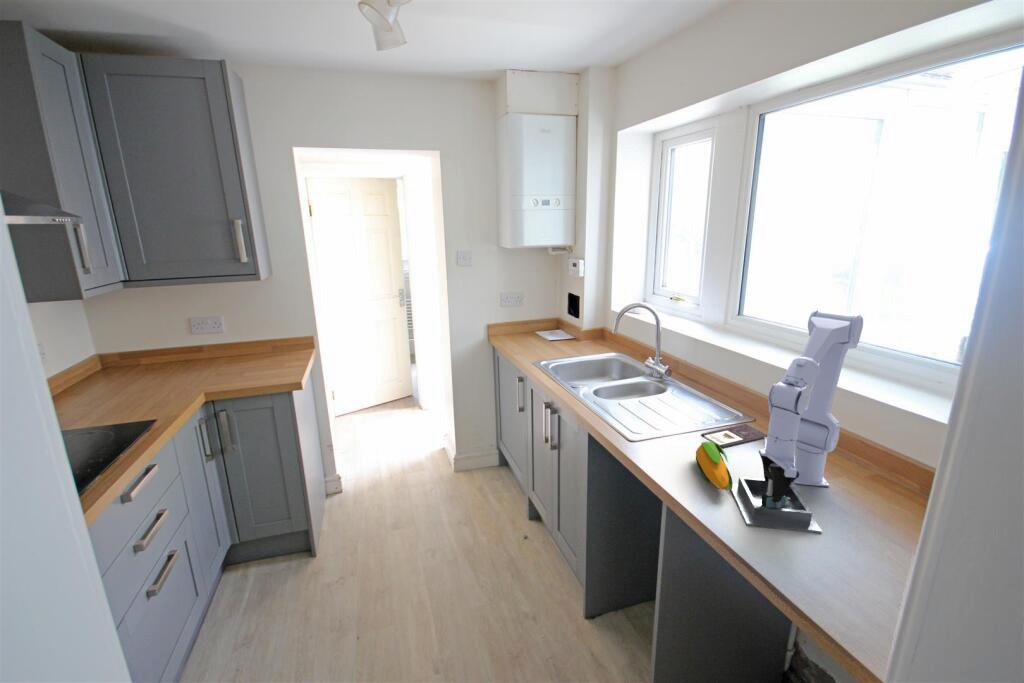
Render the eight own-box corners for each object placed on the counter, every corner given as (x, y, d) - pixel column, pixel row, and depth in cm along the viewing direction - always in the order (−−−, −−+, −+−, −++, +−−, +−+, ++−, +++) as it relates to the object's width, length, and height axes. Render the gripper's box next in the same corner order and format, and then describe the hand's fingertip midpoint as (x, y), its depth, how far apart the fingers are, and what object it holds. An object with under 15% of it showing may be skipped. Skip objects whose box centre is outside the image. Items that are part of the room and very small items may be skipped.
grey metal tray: (728, 484, 116) (730, 472, 115) (792, 490, 113) (794, 477, 113) (746, 525, 101) (748, 511, 100) (821, 533, 98) (824, 519, 97)
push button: (780, 497, 110) (785, 459, 108) (797, 510, 105) (803, 471, 102) (755, 500, 109) (760, 462, 107) (771, 513, 104) (776, 474, 101)
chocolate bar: (769, 435, 140) (723, 446, 134) (768, 438, 140) (723, 449, 134) (745, 423, 148) (701, 433, 142) (745, 426, 148) (701, 436, 142)
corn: (719, 434, 127) (743, 473, 108) (719, 458, 129) (742, 501, 110) (692, 434, 128) (710, 473, 109) (691, 458, 130) (709, 500, 111)
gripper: (753, 419, 110) (746, 469, 114) (774, 449, 96) (765, 504, 100) (785, 421, 109) (777, 472, 112) (811, 452, 95) (801, 508, 98)
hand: (774, 487), depth 106 cm, fingers closed on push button, 5 cm apart
